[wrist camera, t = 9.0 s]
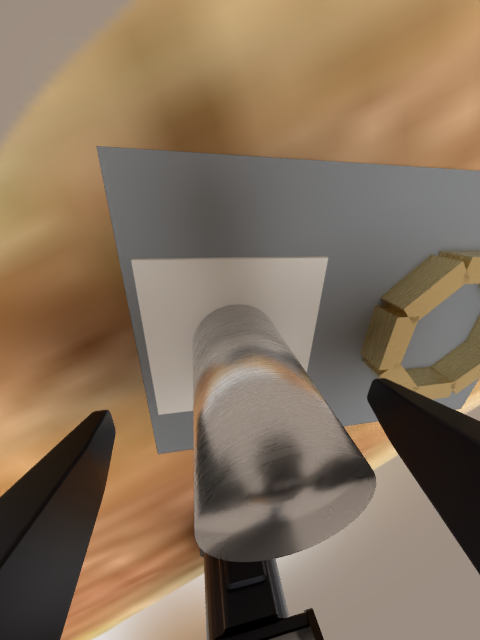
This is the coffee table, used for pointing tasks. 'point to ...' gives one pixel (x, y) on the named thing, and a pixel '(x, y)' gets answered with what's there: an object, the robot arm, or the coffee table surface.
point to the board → (301, 249)
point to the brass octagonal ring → (401, 319)
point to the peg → (266, 445)
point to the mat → (211, 294)
